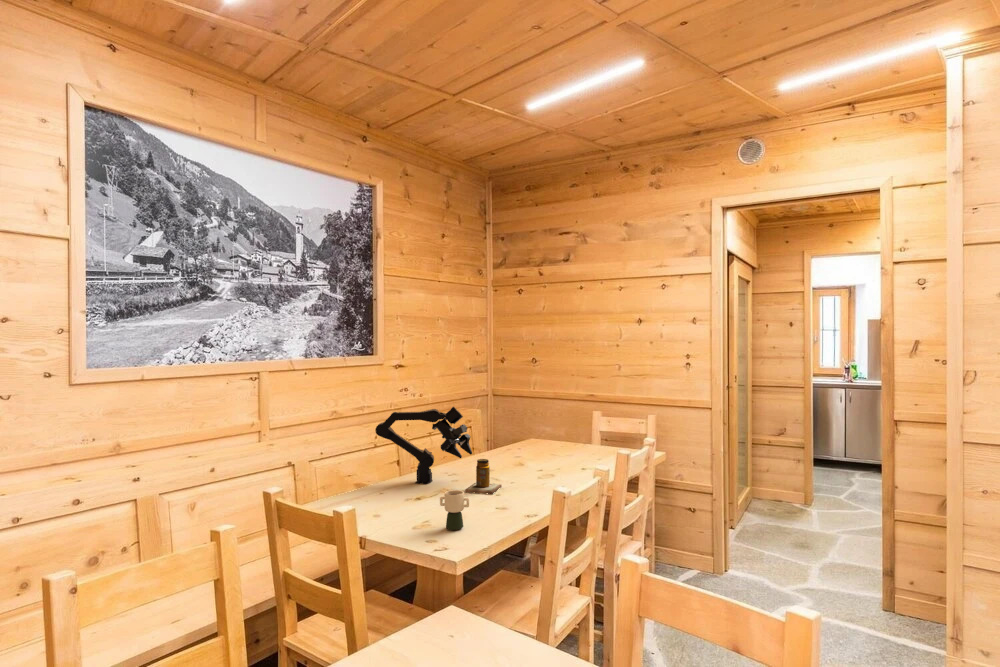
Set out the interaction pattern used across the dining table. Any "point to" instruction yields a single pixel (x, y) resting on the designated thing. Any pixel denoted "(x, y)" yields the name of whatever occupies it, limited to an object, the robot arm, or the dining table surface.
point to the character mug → (454, 508)
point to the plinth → (488, 490)
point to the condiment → (482, 474)
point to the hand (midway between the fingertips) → (466, 455)
